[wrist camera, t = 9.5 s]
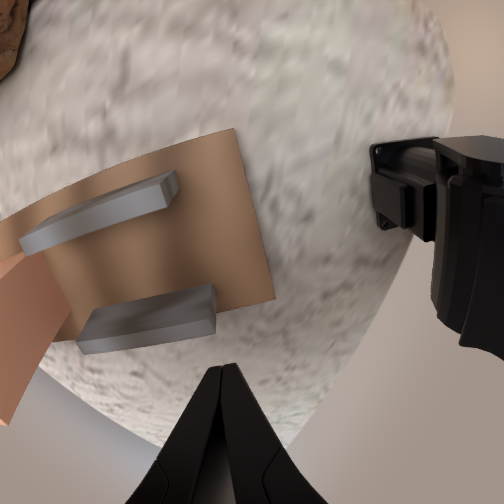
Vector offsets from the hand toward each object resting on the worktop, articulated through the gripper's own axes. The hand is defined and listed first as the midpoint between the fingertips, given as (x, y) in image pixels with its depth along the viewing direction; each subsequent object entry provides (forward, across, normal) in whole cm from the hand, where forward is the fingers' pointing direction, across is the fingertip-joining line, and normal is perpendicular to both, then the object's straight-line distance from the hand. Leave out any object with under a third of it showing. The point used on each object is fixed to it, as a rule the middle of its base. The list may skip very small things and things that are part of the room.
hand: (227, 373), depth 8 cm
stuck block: (+12, +17, 0) cm, 21 cm away
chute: (+13, +9, 0) cm, 16 cm away
